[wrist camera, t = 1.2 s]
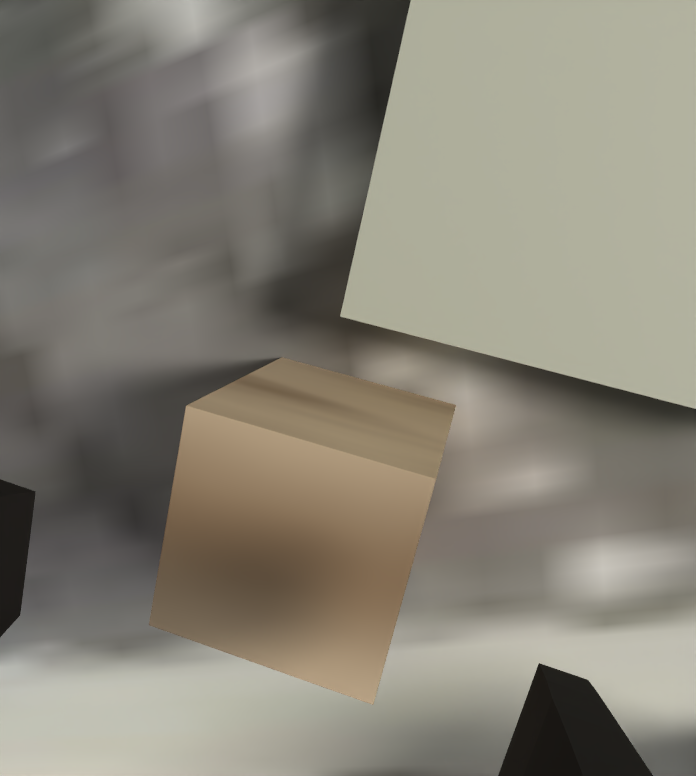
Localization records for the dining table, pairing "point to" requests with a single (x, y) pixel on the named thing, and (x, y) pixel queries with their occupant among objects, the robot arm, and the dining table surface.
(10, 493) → the robot arm
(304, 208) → the dining table surface
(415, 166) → the sage slab
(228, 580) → the maple block
